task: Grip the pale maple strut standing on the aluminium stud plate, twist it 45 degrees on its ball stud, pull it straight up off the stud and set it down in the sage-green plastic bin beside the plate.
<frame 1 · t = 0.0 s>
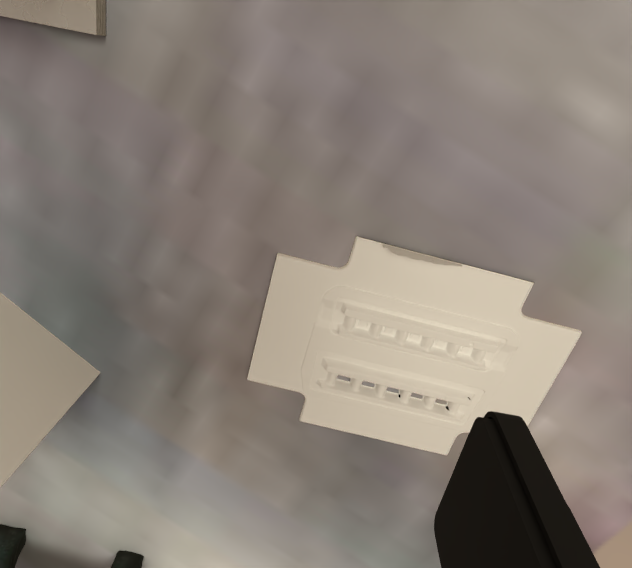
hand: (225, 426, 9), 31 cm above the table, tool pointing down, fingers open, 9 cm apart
dark grey animal figurine: (69, 543, 59), on the table
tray: (405, 350, 46), on the table
milk: (18, 363, 48), on the table
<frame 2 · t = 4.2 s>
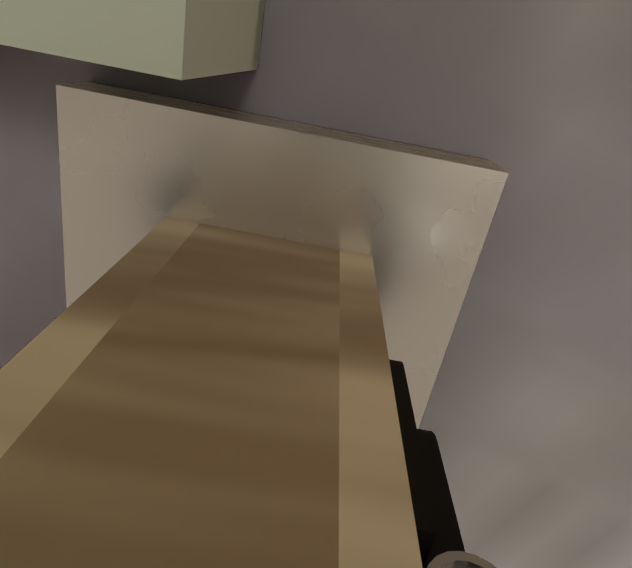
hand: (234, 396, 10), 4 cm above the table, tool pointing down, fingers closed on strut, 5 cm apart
stud plate: (265, 299, 14), on the table
strut: (256, 325, 13), point 2 cm above the table, touching gripper, stud plate
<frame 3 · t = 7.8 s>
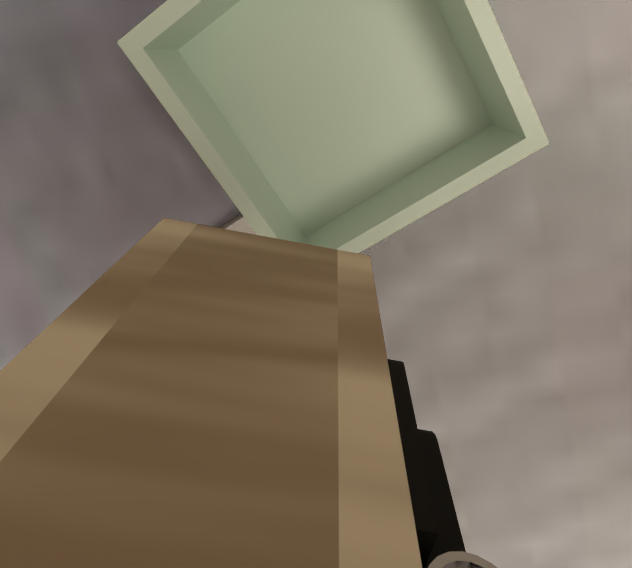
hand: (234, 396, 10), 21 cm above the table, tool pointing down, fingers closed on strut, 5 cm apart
stud plate: (238, 303, 33), on the table
strut: (254, 325, 13), point 18 cm above the table, touching gripper
bin: (338, 86, 27), on the table
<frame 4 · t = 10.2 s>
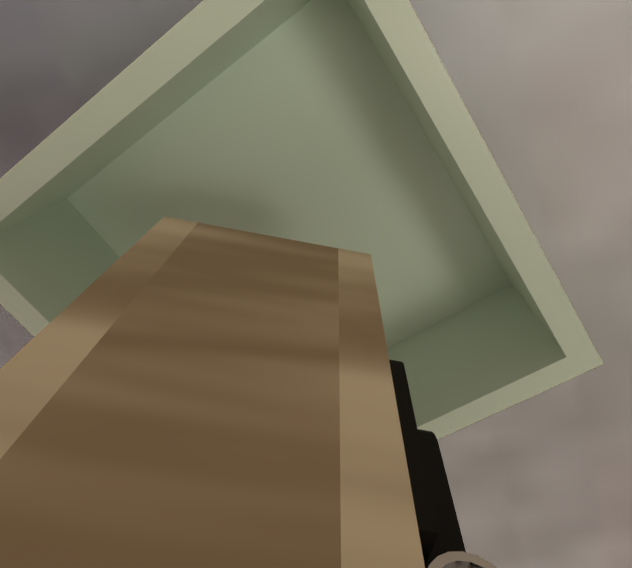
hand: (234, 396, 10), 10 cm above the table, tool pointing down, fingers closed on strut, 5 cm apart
strut: (255, 324, 13), point 8 cm above the table, touching gripper
bin: (293, 234, 19), on the table
when the fingers open (6 cm above the table, at t = 11.9 s): strut drops 2 cm, resting on bin.
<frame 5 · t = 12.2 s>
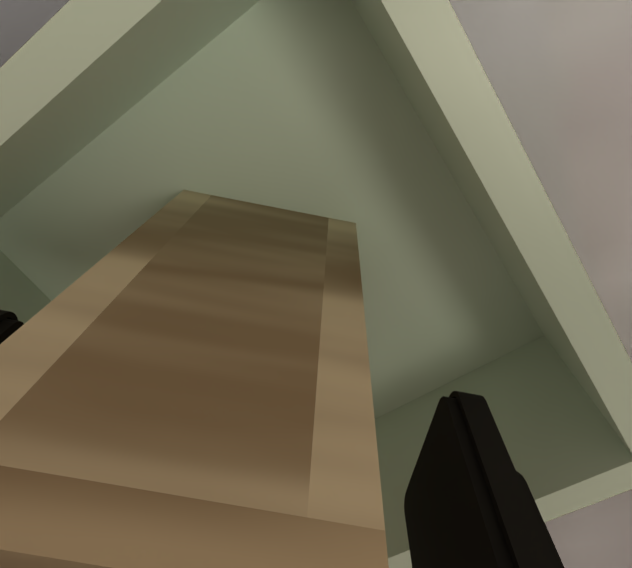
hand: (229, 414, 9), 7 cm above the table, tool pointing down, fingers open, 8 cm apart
strut: (258, 283, 15), point 1 cm above the table, touching bin
bin: (272, 274, 16), on the table
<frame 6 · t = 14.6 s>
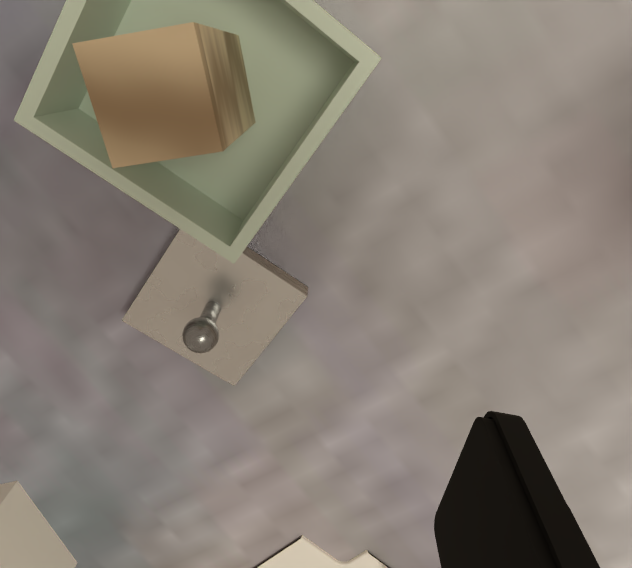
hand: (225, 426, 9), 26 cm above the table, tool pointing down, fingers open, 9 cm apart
stud plate: (217, 299, 37), on the table
strut: (208, 86, 30), point 1 cm above the table, touching bin
bin: (215, 84, 31), on the table
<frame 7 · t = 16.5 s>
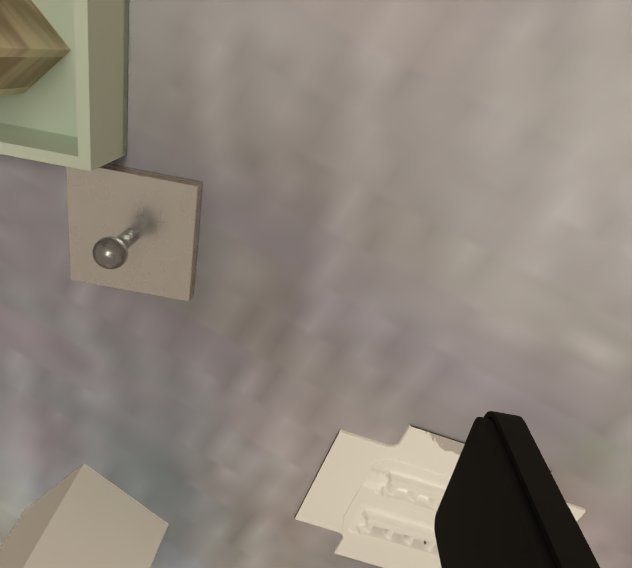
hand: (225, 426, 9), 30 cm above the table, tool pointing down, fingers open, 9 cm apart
stud plate: (138, 229, 40), on the table
strut: (20, 39, 34), point 1 cm above the table, touching bin
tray: (434, 506, 53), on the table
milk: (97, 515, 55), on the table
bin: (29, 36, 34), on the table
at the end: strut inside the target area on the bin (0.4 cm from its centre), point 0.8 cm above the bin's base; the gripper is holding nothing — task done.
